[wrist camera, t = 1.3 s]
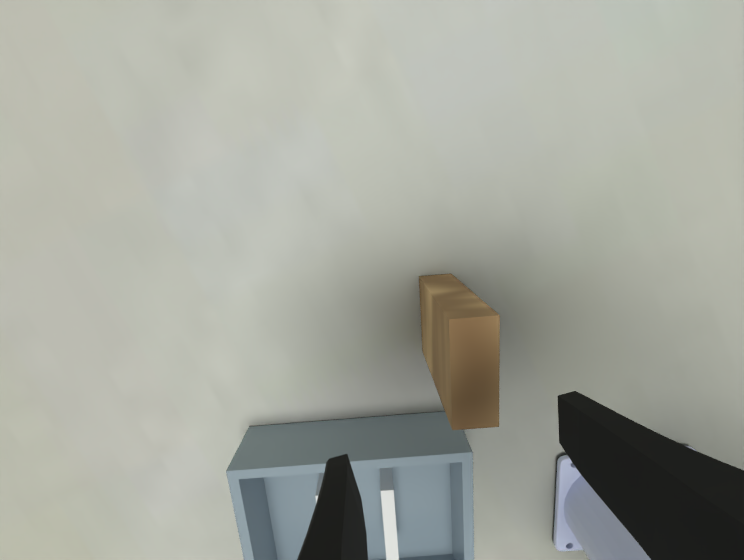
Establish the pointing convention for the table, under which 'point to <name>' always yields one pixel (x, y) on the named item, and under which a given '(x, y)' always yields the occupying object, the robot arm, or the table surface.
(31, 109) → the table surface
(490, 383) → the wooden rectangular block
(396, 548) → the slotted square caddy
